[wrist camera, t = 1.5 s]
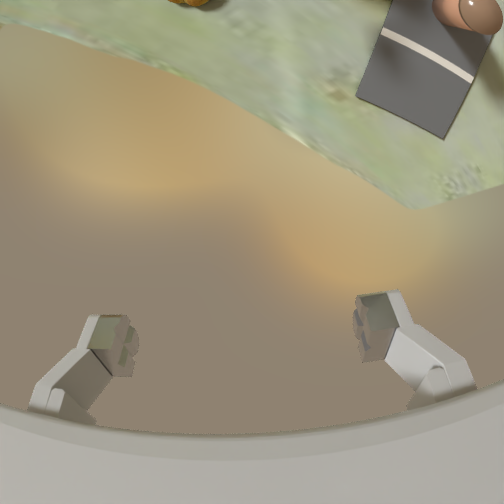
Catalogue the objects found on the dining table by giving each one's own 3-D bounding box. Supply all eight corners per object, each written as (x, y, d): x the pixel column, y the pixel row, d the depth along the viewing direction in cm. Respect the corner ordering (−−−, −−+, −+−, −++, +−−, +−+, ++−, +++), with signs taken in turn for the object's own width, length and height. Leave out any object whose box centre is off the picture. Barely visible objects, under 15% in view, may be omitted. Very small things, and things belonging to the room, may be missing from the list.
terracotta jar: (437, -14, 24) (469, -19, 16) (469, 6, 24) (508, 8, 16) (426, 15, 28) (455, 17, 20) (458, 33, 28) (494, 44, 20)
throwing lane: (404, -32, 25) (405, -32, 24) (495, 22, 25) (497, 22, 24) (355, 95, 40) (355, 96, 40) (441, 137, 40) (442, 139, 40)
